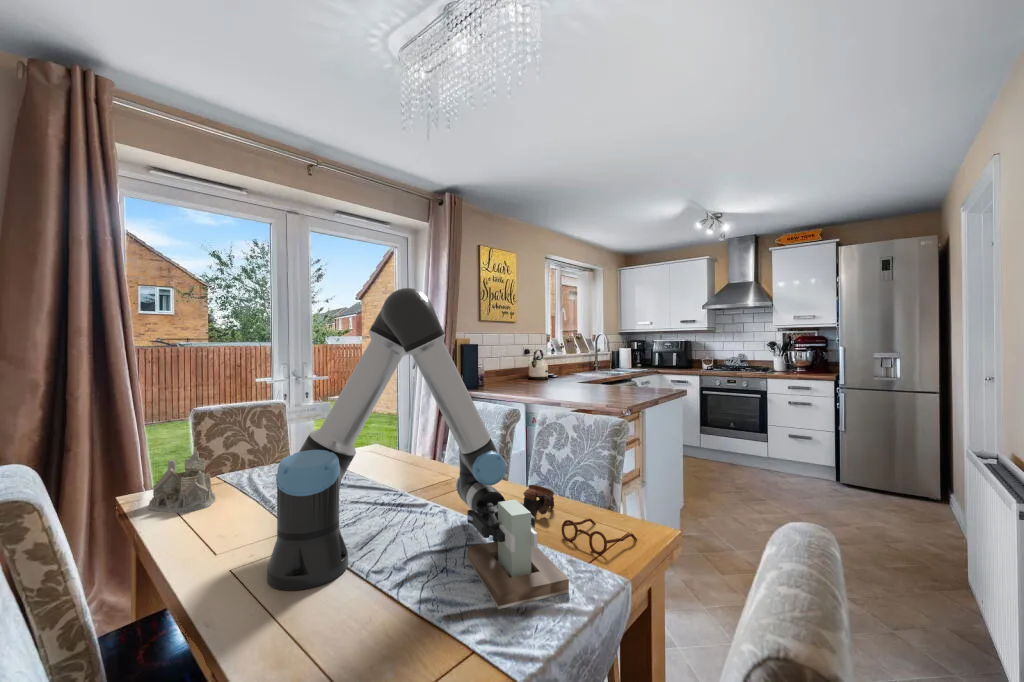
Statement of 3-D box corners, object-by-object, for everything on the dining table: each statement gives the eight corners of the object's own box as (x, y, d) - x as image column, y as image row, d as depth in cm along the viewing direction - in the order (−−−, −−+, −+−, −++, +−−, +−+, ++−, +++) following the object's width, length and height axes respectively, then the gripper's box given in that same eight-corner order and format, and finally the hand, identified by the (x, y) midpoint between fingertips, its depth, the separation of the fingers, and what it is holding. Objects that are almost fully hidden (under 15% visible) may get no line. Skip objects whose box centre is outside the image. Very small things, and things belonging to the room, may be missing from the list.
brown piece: (512, 511, 124) (520, 482, 128) (540, 522, 127) (547, 493, 131) (532, 514, 114) (541, 482, 118) (562, 526, 117) (570, 494, 120)
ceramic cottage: (153, 500, 132) (154, 450, 132) (218, 494, 140) (220, 447, 139) (138, 522, 119) (140, 467, 118) (211, 513, 126) (213, 461, 126)
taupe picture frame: (498, 609, 78) (498, 594, 78) (467, 558, 96) (467, 546, 96) (568, 592, 83) (568, 578, 83) (526, 547, 101) (526, 536, 101)
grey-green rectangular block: (512, 578, 85) (511, 515, 85) (498, 559, 92) (497, 502, 93) (531, 574, 87) (530, 512, 87) (515, 556, 94) (515, 499, 94)
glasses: (560, 539, 106) (560, 518, 106) (594, 524, 115) (594, 505, 115) (604, 559, 97) (604, 536, 97) (638, 541, 105) (638, 520, 105)
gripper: (519, 513, 109) (564, 554, 88) (451, 523, 103) (481, 571, 81) (518, 482, 109) (564, 516, 88) (451, 491, 103) (481, 530, 81)
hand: (524, 542), depth 85 cm, fingers closed on grey-green rectangular block, 4 cm apart
